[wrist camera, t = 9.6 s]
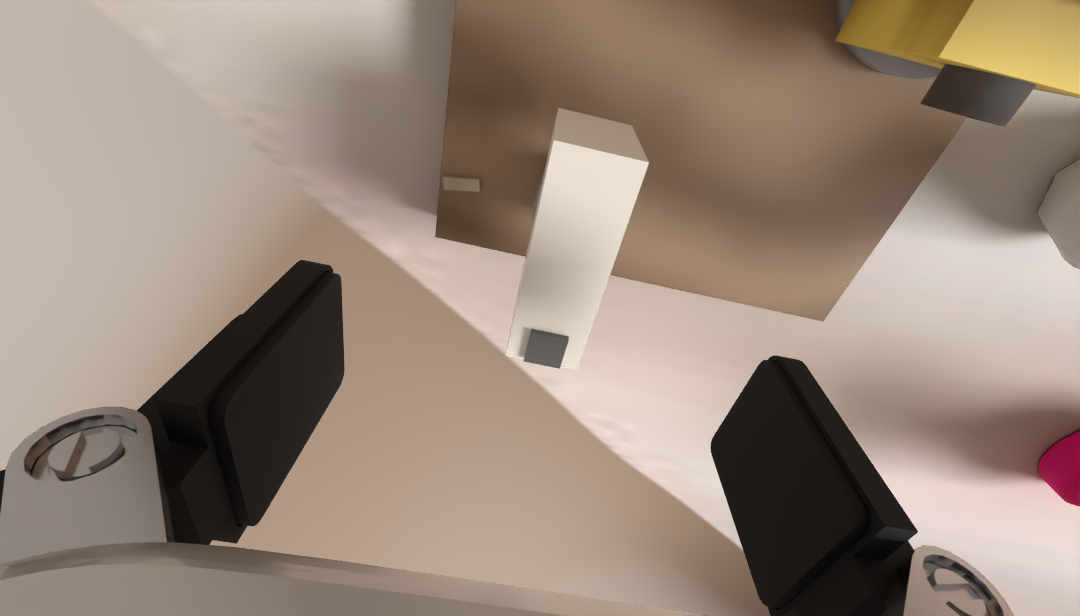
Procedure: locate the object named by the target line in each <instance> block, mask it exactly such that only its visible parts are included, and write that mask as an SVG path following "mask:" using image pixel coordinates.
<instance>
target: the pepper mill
mask: <svg viewBox="0 0 1080 616" xmlns="http://www.w3.org/2000/svg"><path fill="white" fill-rule="evenodd" d="M1038 468H1039V473H1040V476H1041V477H1042V478H1043V479H1044V481H1045V482H1046V483H1047V484H1048V485H1049V486H1050V487H1051V488H1052V489H1053V490H1054V491H1055V492H1056V493H1057V494H1058V495H1059V496H1060V497H1061V498H1062V499H1063V500H1064V501H1066V502H1068V503H1070V504H1073V505H1076V506H1080V431H1078V432H1076V433H1074V434H1072V435H1070V436H1068V437H1066V438H1064V439H1062V440H1061V441H1059V442H1058V443H1056V444H1055V445H1053V446H1052V447H1051V448H1050V449H1049V450H1048V451H1047V452H1046V453H1045V454H1044V455H1043V457H1042V458H1041V460H1040V463H1039V466H1038Z"/></svg>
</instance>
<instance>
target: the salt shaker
mask: <svg viewBox="0 0 1080 616" xmlns="http://www.w3.org/2000/svg"><path fill="white" fill-rule="evenodd" d="M1037 214H1038V216H1039V218H1040V219H1041V221H1042V223H1043V224H1044V226H1045V228H1046V229H1047V231H1048V233H1049V234H1050V236H1051V238H1052V239H1053V241H1054V243H1055V244H1056V246H1057V248H1058V250H1059V251H1060V253H1061V255H1062V257H1063V258H1064V260H1065V261H1067V262H1068V263H1069V264H1070V265H1072V266H1073V267H1075V268H1078V269H1080V159H1079V160H1077V161H1075V162H1074V163H1072V164H1070V165H1069V166H1067V167H1065V168H1064V169H1062V170H1060V171H1059V172H1057V173H1056V174H1055V177H1054V179H1053V181H1052V183H1051V185H1050V187H1049V189H1048V191H1047V193H1046V196H1045V198H1044V200H1043V202H1042V204H1041V206H1040V208H1039V210H1038V212H1037Z"/></svg>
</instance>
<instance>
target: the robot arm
mask: <svg viewBox="0 0 1080 616" xmlns="http://www.w3.org/2000/svg"><path fill="white" fill-rule="evenodd" d="M342 320H343V318H342V289H341V277H340V275H338V274H335V273H333V269H332V267H331V266H330V265H325V264H320V263H315V262H310V261H305V260H300V261H298V262H297V263H296V264H295V265H294V266H293V267H292V268H291V269H290V270H289V271H288V272H286V273H285V274H284V275H283V276H282V277H281V278H280V279H279V280H278V281H277V282H276V283H275V284H274V285H273V286H272V287H271V288H270V289H269V290H268V291H267V292H266V293H264V294H263V296H261V297H260V298H259V299H258V300H257V301H256V302H255V303H254V304H253V305H252V306H251V307H250V308H249V309H248V310H247V311H246V312H245V313H244V314H242V315H239V316H237V317H236V318H235V319H234V320H232V321H231V322H230V323H229V324H228V325H227V326H226V327H225V328H224V329H223V330H222V331H221V332H219V333H218V334H217V335H216V336H215V337H214V338H213V339H212V340H211V341H210V342H209V343H208V344H207V345H206V346H205V347H204V348H203V349H202V350H201V351H199V352H198V353H197V354H196V355H195V356H194V357H193V358H192V359H191V360H190V361H189V362H188V363H187V364H186V365H185V366H183V367H182V368H181V369H180V370H179V371H178V372H177V373H176V374H175V375H174V376H173V377H172V378H171V379H170V380H169V381H168V382H167V383H165V385H163V386H162V387H161V388H160V389H159V390H158V391H157V392H156V393H155V394H154V395H153V396H152V397H151V398H150V399H149V400H148V401H146V403H145V404H143V405H142V406H141V407H140V408H139V409H138V410H137V411H136V410H132V409H128V408H124V407H100V408H93V409H88V410H82V411H79V412H76V413H73V414H70V415H67V416H64V417H61V418H59V419H57V420H55V421H53V422H51V423H49V424H47V425H45V426H43V427H41V428H40V429H38V430H37V431H36V432H34V433H33V434H31V435H30V436H28V437H27V438H26V439H24V440H23V441H22V442H21V444H20V445H19V446H18V447H17V448H16V449H15V450H14V451H13V453H12V454H11V456H10V459H9V461H8V464H7V466H6V469H5V470H2V471H0V616H705V615H699V614H692V613H686V612H680V611H673V610H667V609H660V608H654V607H647V606H640V605H633V604H628V603H621V602H614V601H608V600H601V599H595V598H588V597H581V596H575V595H568V594H562V593H555V592H548V591H542V590H535V589H528V588H522V587H515V586H508V585H502V584H495V583H489V582H482V581H475V580H467V579H461V578H454V577H447V576H441V575H434V574H427V573H420V572H413V571H406V570H400V569H392V568H386V567H379V566H372V565H366V564H359V563H352V562H345V561H337V560H330V559H322V558H314V557H306V556H299V555H291V554H283V553H276V552H268V551H260V550H253V549H245V548H237V547H226V546H214V545H209V544H210V543H211V541H212V540H217V541H223V542H230V543H237V542H238V540H239V539H240V537H241V535H242V534H243V532H244V530H245V529H246V527H247V526H255V525H257V523H258V522H259V521H260V520H261V518H262V517H263V515H264V514H265V512H266V510H267V508H268V507H269V505H270V503H271V501H272V500H273V498H274V497H275V495H276V493H277V492H278V489H279V488H280V487H281V485H282V483H283V481H284V479H285V478H286V476H287V474H288V473H289V471H290V469H291V468H292V466H293V464H294V463H295V461H296V459H297V458H298V456H299V454H300V453H301V451H302V449H303V448H304V446H305V444H306V443H307V441H308V439H309V437H310V436H311V434H312V432H313V431H314V429H315V427H316V425H317V424H318V422H319V421H320V419H321V417H322V415H323V414H324V412H325V410H326V408H327V407H328V405H329V404H330V402H331V400H332V399H333V397H334V395H335V393H336V392H337V390H338V388H339V387H340V385H341V382H342V379H343V376H344V345H343V321H342ZM711 453H712V457H713V460H714V463H715V466H716V469H717V472H718V475H719V478H720V481H721V484H722V487H723V490H724V493H725V496H726V499H727V502H728V505H729V508H730V511H731V514H732V517H733V520H734V523H735V526H736V529H737V532H738V535H739V538H740V541H741V544H742V547H743V550H744V553H745V556H746V559H747V562H748V566H749V569H750V572H751V575H752V577H753V581H754V584H755V586H756V590H757V593H758V595H759V598H760V600H761V601H762V603H763V604H764V605H766V606H768V609H769V612H770V615H771V616H1014V615H1013V613H1012V611H1011V609H1010V608H1009V606H1008V604H1007V602H1006V601H1005V599H1004V598H1003V597H1002V596H1001V594H1000V593H999V592H998V591H997V589H996V588H995V587H994V586H993V585H992V584H991V583H990V582H989V581H988V580H987V579H986V578H985V577H984V576H983V575H982V574H981V573H980V572H979V571H978V570H976V569H975V568H974V567H972V566H971V565H970V564H968V563H967V562H966V561H964V560H963V559H961V558H959V557H958V556H956V555H954V554H952V553H951V552H949V551H946V550H944V549H941V548H938V547H935V546H926V545H923V546H921V547H918V548H916V549H915V550H913V548H912V546H911V545H910V543H909V542H908V540H909V539H910V538H911V537H913V536H914V535H915V534H916V533H917V532H918V531H917V529H916V528H915V526H914V525H913V524H912V522H911V521H910V519H909V518H908V516H907V515H906V513H905V512H904V510H903V509H902V507H901V506H900V504H899V503H898V501H897V500H896V498H895V497H894V495H893V494H892V492H891V491H890V489H889V488H888V487H887V485H886V484H885V482H884V481H883V479H882V478H881V476H880V475H879V473H878V472H877V470H876V469H875V467H874V466H873V464H872V463H871V461H870V460H869V458H868V457H867V455H866V454H865V452H864V451H863V449H862V448H861V447H860V445H859V444H858V442H857V441H856V439H855V438H854V436H853V435H852V433H851V432H850V430H849V429H848V427H847V426H846V424H845V423H844V421H843V420H842V418H841V417H840V415H839V414H838V412H837V411H836V410H835V408H834V407H833V405H832V404H831V402H830V401H829V399H828V398H827V396H826V395H825V393H824V392H823V390H822V389H821V387H820V386H819V384H818V383H817V381H816V380H815V378H814V377H813V375H812V374H811V373H810V371H809V370H808V368H807V367H806V365H805V364H804V363H803V362H802V361H800V360H796V359H791V358H786V357H781V356H772V357H770V358H769V359H768V360H764V361H762V362H761V363H760V364H759V365H758V367H757V369H756V370H755V372H754V373H753V375H752V376H751V378H750V380H749V381H748V383H747V384H746V386H745V387H744V389H743V391H742V392H741V394H740V395H739V397H738V399H737V400H736V402H735V403H734V405H733V406H732V408H731V410H730V411H729V413H728V414H727V416H726V418H725V419H724V421H723V422H722V424H721V425H720V427H719V429H718V430H717V432H716V433H715V435H714V436H713V439H712V442H711Z"/></svg>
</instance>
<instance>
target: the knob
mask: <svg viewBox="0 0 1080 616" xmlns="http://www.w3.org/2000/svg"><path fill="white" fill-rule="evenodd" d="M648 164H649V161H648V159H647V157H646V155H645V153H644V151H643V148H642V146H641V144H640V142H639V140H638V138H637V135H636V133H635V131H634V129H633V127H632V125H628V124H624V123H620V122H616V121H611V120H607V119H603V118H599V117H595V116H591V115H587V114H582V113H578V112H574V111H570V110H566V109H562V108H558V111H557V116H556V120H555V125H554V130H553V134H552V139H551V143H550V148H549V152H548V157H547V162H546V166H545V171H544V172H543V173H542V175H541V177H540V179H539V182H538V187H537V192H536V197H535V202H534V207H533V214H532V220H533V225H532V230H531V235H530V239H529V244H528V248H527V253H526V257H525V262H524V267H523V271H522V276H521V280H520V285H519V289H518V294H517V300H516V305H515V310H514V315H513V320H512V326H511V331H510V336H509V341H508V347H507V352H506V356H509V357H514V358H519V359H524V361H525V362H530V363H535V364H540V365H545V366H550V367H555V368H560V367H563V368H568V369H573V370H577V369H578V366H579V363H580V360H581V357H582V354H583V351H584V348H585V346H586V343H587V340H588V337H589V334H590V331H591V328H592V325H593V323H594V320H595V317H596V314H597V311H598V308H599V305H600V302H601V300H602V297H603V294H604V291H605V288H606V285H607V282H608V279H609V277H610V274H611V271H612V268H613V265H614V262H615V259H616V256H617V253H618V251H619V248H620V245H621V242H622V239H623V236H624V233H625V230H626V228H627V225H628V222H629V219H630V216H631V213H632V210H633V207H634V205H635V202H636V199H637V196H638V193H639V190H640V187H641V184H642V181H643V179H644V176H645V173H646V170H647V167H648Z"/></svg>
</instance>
